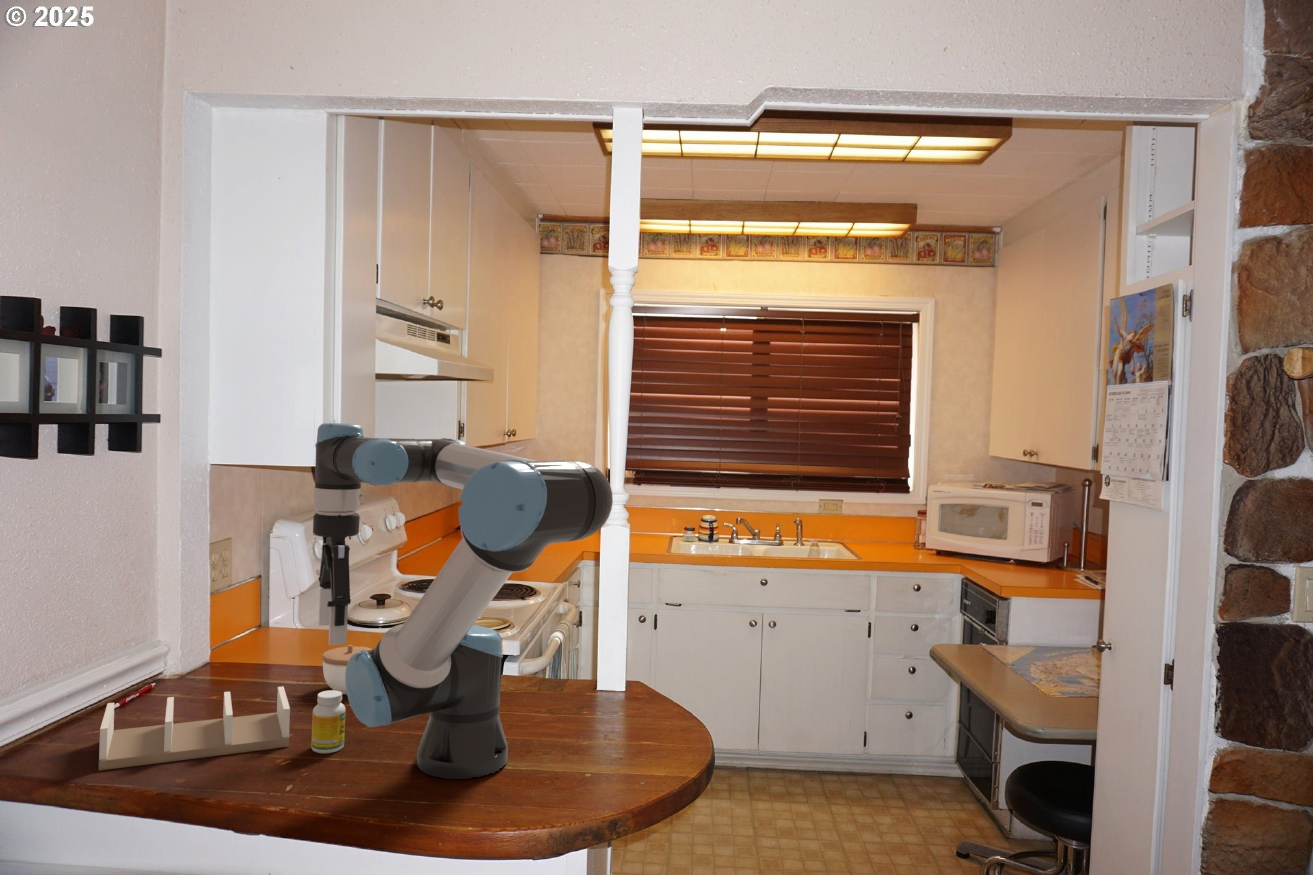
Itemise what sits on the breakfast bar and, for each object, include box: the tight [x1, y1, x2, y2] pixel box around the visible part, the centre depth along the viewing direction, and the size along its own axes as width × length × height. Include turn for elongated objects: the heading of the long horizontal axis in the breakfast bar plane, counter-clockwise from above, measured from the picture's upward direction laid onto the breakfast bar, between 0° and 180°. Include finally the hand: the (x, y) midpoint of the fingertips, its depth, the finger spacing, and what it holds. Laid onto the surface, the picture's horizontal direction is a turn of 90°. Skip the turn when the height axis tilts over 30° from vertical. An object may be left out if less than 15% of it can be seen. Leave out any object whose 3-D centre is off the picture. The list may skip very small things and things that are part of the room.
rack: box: [98, 686, 291, 771], centre depth 150 cm, size 14×28×6 cm, turn 118°
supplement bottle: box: [311, 689, 346, 754], centre depth 151 cm, size 5×5×10 cm
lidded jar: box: [322, 644, 373, 695], centre depth 182 cm, size 11×11×9 cm
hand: (331, 634), depth 151 cm, fingers open, 13 cm apart
